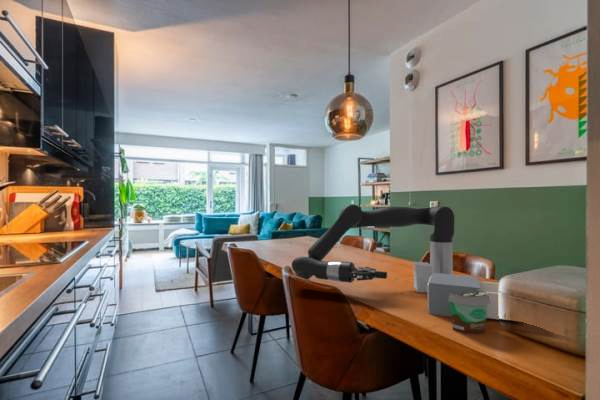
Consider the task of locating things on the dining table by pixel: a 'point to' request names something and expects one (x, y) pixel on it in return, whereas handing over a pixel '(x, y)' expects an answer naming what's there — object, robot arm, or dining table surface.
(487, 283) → the white cuboid
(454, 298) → the food container
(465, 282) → the sleeve
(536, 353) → the dining table surface
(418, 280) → the small box
